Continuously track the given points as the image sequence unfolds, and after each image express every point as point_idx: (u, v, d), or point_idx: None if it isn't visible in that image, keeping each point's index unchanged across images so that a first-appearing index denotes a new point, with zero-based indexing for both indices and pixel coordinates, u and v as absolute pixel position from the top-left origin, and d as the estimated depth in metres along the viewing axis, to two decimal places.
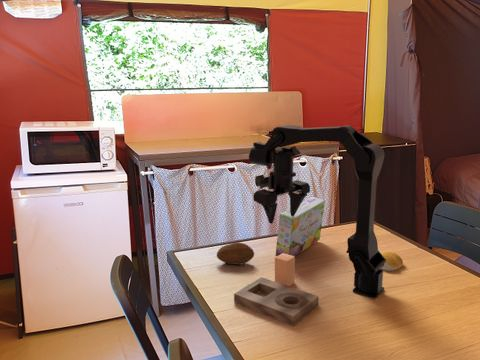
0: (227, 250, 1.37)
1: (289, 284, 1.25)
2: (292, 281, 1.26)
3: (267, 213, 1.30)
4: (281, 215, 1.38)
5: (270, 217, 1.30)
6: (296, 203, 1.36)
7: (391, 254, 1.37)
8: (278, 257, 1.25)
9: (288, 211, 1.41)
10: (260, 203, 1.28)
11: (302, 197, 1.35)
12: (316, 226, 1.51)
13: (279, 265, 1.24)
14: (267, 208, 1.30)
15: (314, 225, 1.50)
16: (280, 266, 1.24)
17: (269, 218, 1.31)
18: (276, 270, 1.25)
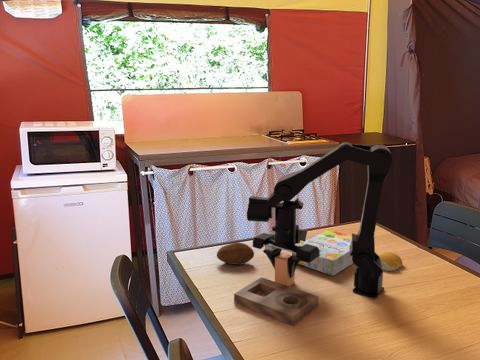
0: (227, 250, 1.37)
1: (289, 284, 1.25)
2: (292, 281, 1.26)
3: None
4: (332, 262, 1.29)
5: None
6: None
7: (390, 254, 1.37)
8: (278, 257, 1.25)
9: (339, 260, 1.32)
10: None
11: (289, 260, 1.21)
12: None
13: (279, 264, 1.24)
14: None
15: None
16: (280, 265, 1.24)
17: None
18: (276, 270, 1.25)
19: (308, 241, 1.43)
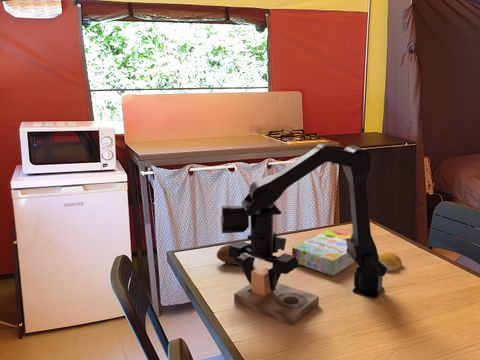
0: (227, 250, 1.37)
1: None
2: None
3: None
4: (332, 262, 1.29)
5: None
6: None
7: (390, 254, 1.37)
8: (255, 271, 1.16)
9: (339, 260, 1.32)
10: None
11: (270, 272, 1.11)
12: None
13: (256, 279, 1.16)
14: None
15: None
16: (257, 280, 1.16)
17: None
18: (253, 285, 1.17)
19: (308, 241, 1.43)
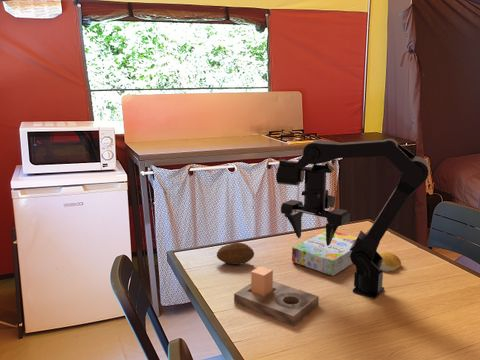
0: (227, 250, 1.37)
1: None
2: None
3: None
4: (332, 262, 1.29)
5: None
6: None
7: (389, 254, 1.37)
8: (255, 271, 1.16)
9: (339, 260, 1.32)
10: None
11: (327, 226, 1.18)
12: None
13: (256, 279, 1.16)
14: None
15: None
16: (257, 280, 1.16)
17: None
18: (253, 285, 1.17)
19: (308, 241, 1.43)
